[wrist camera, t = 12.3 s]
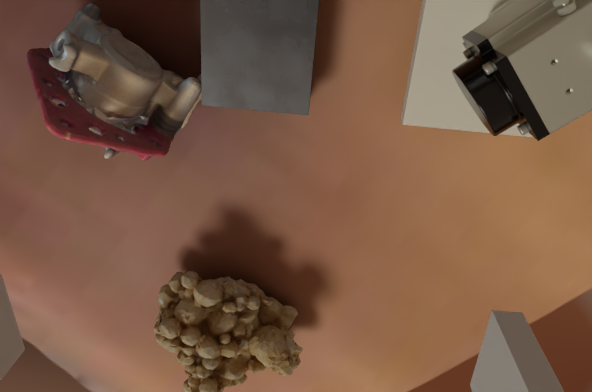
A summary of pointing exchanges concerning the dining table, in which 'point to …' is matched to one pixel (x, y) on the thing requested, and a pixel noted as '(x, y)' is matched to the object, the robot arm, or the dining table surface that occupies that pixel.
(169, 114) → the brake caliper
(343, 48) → the dining table surface
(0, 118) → the dining table surface
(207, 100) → the stand slate
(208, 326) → the mineral formation
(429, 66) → the stand cream
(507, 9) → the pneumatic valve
